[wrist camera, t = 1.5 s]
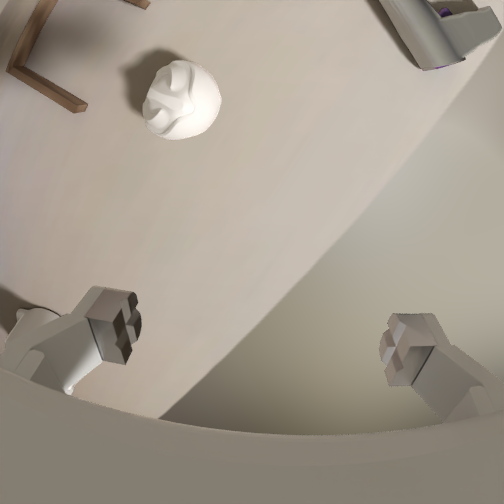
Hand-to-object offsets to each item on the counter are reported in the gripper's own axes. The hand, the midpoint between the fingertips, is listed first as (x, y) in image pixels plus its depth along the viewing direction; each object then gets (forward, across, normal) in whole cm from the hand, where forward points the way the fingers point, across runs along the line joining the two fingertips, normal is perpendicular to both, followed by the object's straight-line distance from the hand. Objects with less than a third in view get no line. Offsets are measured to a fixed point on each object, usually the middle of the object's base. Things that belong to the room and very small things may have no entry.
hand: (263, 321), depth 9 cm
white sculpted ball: (+26, +9, -6) cm, 28 cm away
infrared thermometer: (+27, -18, -21) cm, 39 cm away
